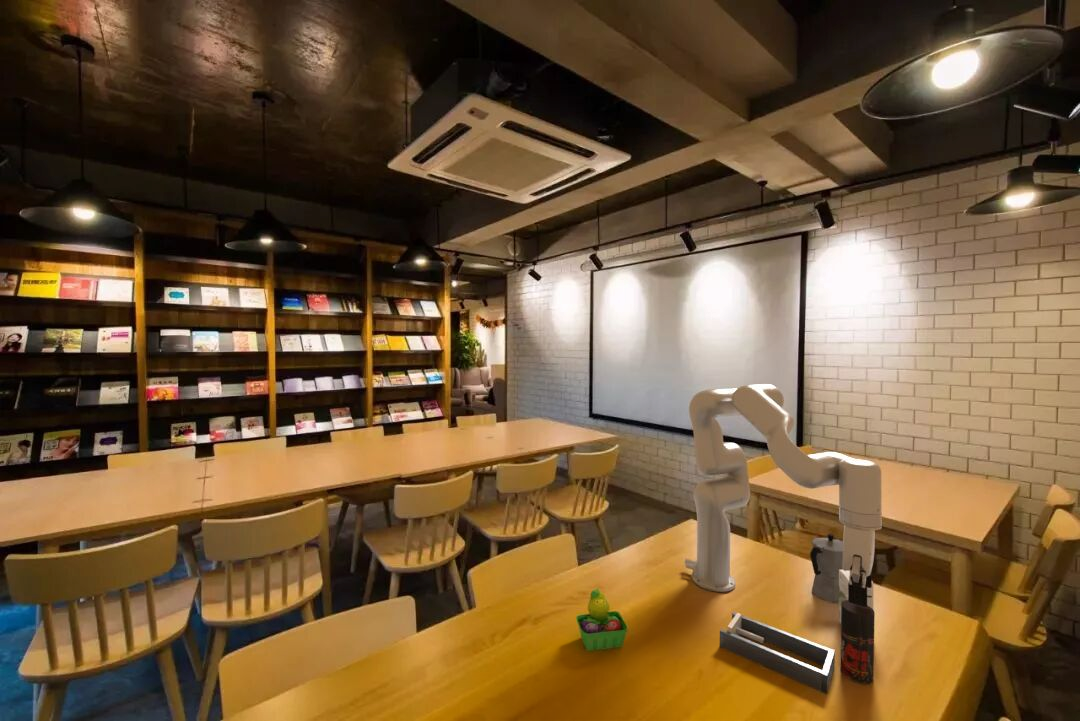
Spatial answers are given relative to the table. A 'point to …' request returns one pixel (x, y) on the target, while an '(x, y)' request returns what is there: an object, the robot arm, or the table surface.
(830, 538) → the coffeepot
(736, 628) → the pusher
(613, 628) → the fruit basket
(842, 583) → the syrup box
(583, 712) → the table surface
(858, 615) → the deodorant
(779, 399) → the robot arm
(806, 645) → the frame
